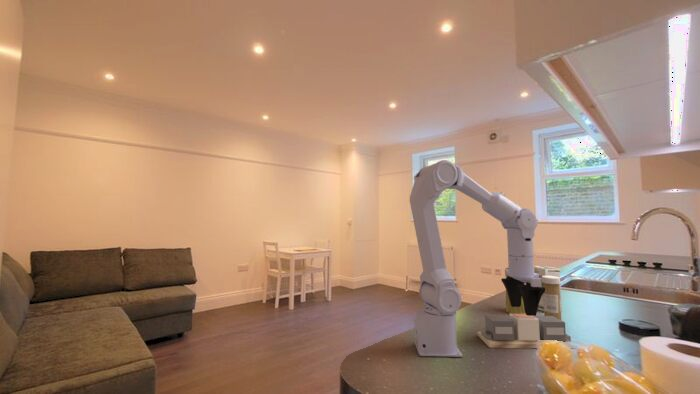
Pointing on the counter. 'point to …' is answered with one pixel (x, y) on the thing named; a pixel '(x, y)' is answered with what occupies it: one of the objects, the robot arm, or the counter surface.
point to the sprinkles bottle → (551, 296)
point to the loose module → (525, 327)
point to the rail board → (503, 332)
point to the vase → (514, 309)
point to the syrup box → (547, 272)
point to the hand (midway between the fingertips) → (522, 310)
